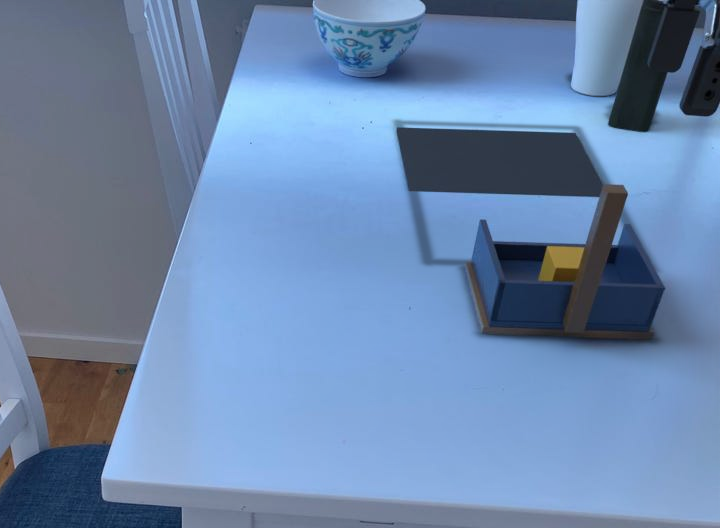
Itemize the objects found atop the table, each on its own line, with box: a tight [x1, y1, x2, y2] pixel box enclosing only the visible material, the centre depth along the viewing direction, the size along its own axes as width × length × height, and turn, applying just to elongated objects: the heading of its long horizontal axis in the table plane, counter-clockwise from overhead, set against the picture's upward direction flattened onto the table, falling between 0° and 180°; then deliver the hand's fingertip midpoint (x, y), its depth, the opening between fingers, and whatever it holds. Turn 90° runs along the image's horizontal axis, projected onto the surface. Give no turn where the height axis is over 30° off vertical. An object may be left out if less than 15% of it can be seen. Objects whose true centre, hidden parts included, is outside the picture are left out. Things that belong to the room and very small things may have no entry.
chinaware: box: [312, 0, 427, 78], centre depth 128 cm, size 15×15×8 cm
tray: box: [470, 183, 666, 333], centre depth 81 cm, size 14×14×12 cm
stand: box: [464, 261, 655, 340], centre depth 87 cm, size 15×12×2 cm
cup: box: [570, 0, 644, 97], centre depth 122 cm, size 10×10×14 cm
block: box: [538, 246, 584, 282], centre depth 83 cm, size 4×4×4 cm
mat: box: [396, 126, 603, 198], centre depth 104 cm, size 22×36×1 cm, turn 178°
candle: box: [607, 0, 669, 132], centre depth 110 cm, size 5×5×25 cm
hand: (677, 91), depth 63 cm, fingers open, 8 cm apart
